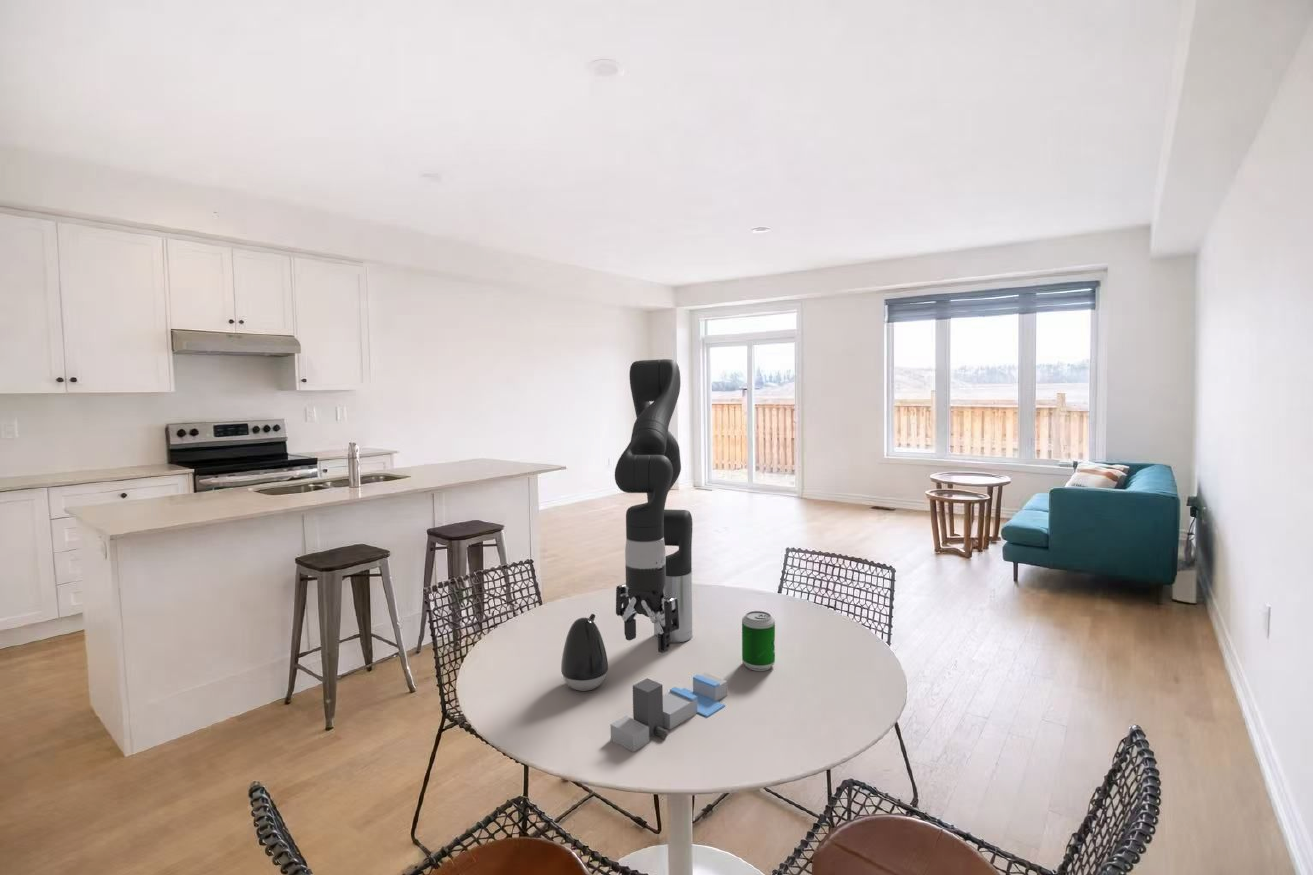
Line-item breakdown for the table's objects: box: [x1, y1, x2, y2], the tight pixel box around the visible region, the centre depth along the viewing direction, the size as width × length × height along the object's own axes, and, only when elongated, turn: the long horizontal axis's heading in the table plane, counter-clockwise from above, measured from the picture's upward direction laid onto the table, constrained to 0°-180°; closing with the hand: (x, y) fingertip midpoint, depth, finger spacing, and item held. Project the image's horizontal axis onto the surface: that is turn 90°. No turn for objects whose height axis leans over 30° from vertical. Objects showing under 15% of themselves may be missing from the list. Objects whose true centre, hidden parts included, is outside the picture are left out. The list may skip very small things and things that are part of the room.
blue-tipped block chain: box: [610, 672, 728, 752], centre depth 129 cm, size 11×28×4 cm, turn 137°
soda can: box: [741, 610, 776, 672], centre depth 150 cm, size 8×8×12 cm
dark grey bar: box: [632, 678, 669, 739], centre depth 123 cm, size 6×4×9 cm, turn 47°
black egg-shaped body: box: [560, 613, 609, 692], centre depth 142 cm, size 10×10×15 cm
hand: (646, 645), depth 122 cm, fingers open, 8 cm apart
